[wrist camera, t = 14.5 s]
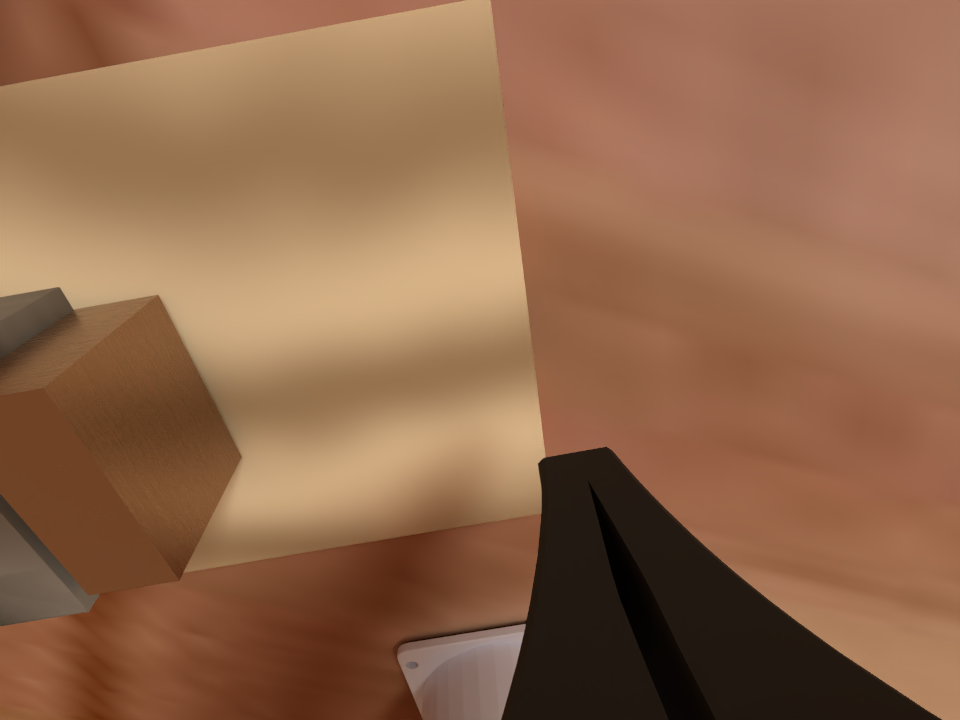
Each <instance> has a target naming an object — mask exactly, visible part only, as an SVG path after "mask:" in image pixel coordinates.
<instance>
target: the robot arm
mask: <svg viewBox="0 0 960 720" xmlns="http://www.w3.org/2000/svg"><path fill="white" fill-rule="evenodd" d="M538 469H539V476H540V482H541V489H542V510H541V526H540V538H539V549H538V557H537V564H536V570H535V577H534V583H533V589H532V595H531V601H530V606H529V611H528V616H527V621H526V624H521V625H515V626H508V627H502V628H496V629H490V630H484V631H477V632H471V633H465V634H459V635H453V636H446V637H440V638H434V639H428V640H422V641H415V642H409V643H405V644H403V645H401V646H400V647H399V648H398V652H397V660H398V662H399V664H400V667H401V669H402V671H403V674H404V676H405V679H406V681H407V683H408V686H409V688H410V690H411V693H412V695H413V697H414V700H415V702H416V705H417V707H418V709H419V712H420V714H421V716H422V720H942V719H940V718H938V717H937V716H935V715H933V714H932V713H930V712H929V711H927V710H925V709H924V708H922V707H921V706H919V705H918V704H916V703H915V702H913V701H912V700H910V699H909V698H907V697H906V696H904V695H903V694H901V693H900V692H898V691H897V690H895V689H894V688H892V687H891V686H889V685H888V684H886V683H885V682H883V681H882V680H880V679H879V678H877V677H876V676H874V675H873V674H871V673H870V672H868V671H867V670H865V669H864V668H862V667H861V666H859V665H858V664H856V663H855V662H853V661H852V660H850V659H849V658H847V657H846V656H844V655H843V654H841V653H840V652H838V651H837V650H835V649H834V648H833V647H831V646H830V645H828V644H827V643H826V642H824V641H823V640H822V639H820V638H819V637H817V636H816V635H815V634H813V633H812V632H811V631H809V630H808V629H807V628H805V627H804V626H802V625H801V624H800V623H798V622H797V621H796V620H794V619H793V618H792V617H790V616H789V615H788V614H786V613H785V612H784V611H782V610H781V609H780V608H779V607H777V606H776V605H775V604H773V603H772V602H771V601H769V600H768V599H767V598H766V597H764V596H763V595H762V594H761V593H759V592H758V591H757V590H756V589H754V588H753V587H752V586H751V585H749V584H748V583H747V582H746V581H745V580H743V579H742V578H741V577H740V576H739V575H737V574H736V573H735V572H734V571H733V570H731V569H730V568H729V567H728V566H727V565H726V564H725V563H723V562H722V561H721V560H720V559H719V558H718V557H717V556H715V555H714V554H713V553H712V552H711V551H710V550H708V549H707V548H706V547H705V546H704V545H703V544H702V543H701V542H700V541H699V540H698V539H696V538H695V537H694V536H693V535H692V534H691V533H690V532H689V531H688V530H687V529H686V528H685V527H684V526H683V525H682V524H681V523H680V522H679V521H678V520H677V519H675V518H674V517H673V516H672V515H671V514H670V513H669V512H668V511H667V510H666V509H665V508H664V507H663V506H662V505H661V504H660V503H659V502H658V501H657V500H656V499H655V498H654V497H653V496H652V495H651V494H650V492H649V491H648V490H647V489H646V488H645V487H644V486H643V485H642V484H641V483H640V482H639V481H638V480H637V479H636V477H635V476H634V475H633V474H632V473H631V472H630V471H629V470H628V469H627V467H626V466H625V465H624V464H623V463H622V462H621V460H620V459H619V458H618V457H617V456H616V454H615V453H614V452H613V451H612V450H611V449H609V448H608V447H603V448H597V449H592V450H586V451H580V452H575V453H569V454H563V455H558V456H552V457H546V458H543V459H542V460H541V461H540V462H539V463H538Z"/></svg>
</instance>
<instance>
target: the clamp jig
mask: <svg viewBox="0 0 960 720" xmlns="http://www.w3.org/2000/svg"><path fill="white" fill-rule="evenodd" d="M154 295H159V297H160V299H161V301H162V303H163V305H164V307H165V309H166V311H167V312H168V314H169V316H170V318H171V320H172V322H173V324H174V326H175V328H176V330H177V332H178V334H179V336H180V338H181V340H182V342H183V344H184V346H185V347H186V349H187V351H188V353H189V355H190V357H191V359H192V361H193V363H194V365H195V367H196V369H197V371H198V373H199V375H200V377H201V379H202V381H203V382H204V384H205V386H206V388H207V390H208V392H209V394H210V396H211V398H212V400H213V402H214V404H215V406H216V408H217V410H218V412H219V414H220V416H221V418H222V419H223V421H224V423H225V425H226V427H227V429H228V431H229V433H230V435H231V437H232V439H233V441H234V443H235V445H236V447H237V449H238V451H239V453H240V454H241V456H242V458H241V460H240V462H239V464H238V466H237V468H236V470H235V472H234V474H233V476H232V477H231V479H230V481H229V483H228V485H227V487H226V489H225V491H224V493H223V495H222V497H221V499H220V501H219V503H218V505H217V507H216V509H215V511H214V513H213V515H212V517H211V519H210V521H209V523H208V525H207V527H206V529H205V531H204V533H203V535H202V537H201V539H200V541H199V543H198V545H197V547H196V549H195V551H194V553H193V555H192V557H191V559H190V561H189V562H188V564H187V566H186V568H185V570H184V572H183V573H185V572H191V571H197V570H203V569H209V568H215V567H221V566H227V565H233V564H239V563H245V562H251V561H257V560H264V559H270V558H276V557H282V556H288V555H294V554H300V553H306V552H312V551H318V550H324V549H330V548H336V547H342V546H348V545H354V544H360V543H366V542H372V541H378V540H385V539H391V538H397V537H403V536H409V535H415V534H421V533H427V532H433V531H439V530H445V529H451V528H457V527H463V526H469V525H475V524H481V523H487V522H493V521H499V520H505V519H512V518H518V517H524V516H530V515H536V514H541V510H542V489H541V482H540V476H539V469H538V463H539V462H540V461H541V460H542V459H543V458H545V449H544V441H543V433H542V424H541V416H540V408H539V399H538V391H537V383H536V374H535V366H534V358H533V349H532V341H531V333H530V325H529V316H528V308H527V300H526V291H525V283H524V275H523V266H522V258H521V250H520V241H519V233H518V225H517V216H516V208H515V200H514V192H513V183H512V175H511V167H510V158H509V150H508V142H507V133H506V125H505V117H504V108H503V100H502V92H501V83H500V75H499V67H498V59H497V50H496V42H495V34H494V25H493V17H492V9H491V0H466V1H461V2H456V3H450V4H445V5H439V6H434V7H428V8H423V9H418V10H412V11H407V12H401V13H396V14H391V15H385V16H380V17H374V18H369V19H363V20H358V21H353V22H347V23H342V24H336V25H331V26H325V27H320V28H315V29H309V30H304V31H298V32H293V33H288V34H282V35H277V36H271V37H266V38H260V39H255V40H250V41H244V42H239V43H233V44H228V45H222V46H217V47H212V48H206V49H201V50H195V51H190V52H185V53H179V54H174V55H168V56H163V57H157V58H152V59H147V60H141V61H136V62H130V63H125V64H119V65H114V66H109V67H103V68H98V69H92V70H87V71H82V72H76V73H71V74H65V75H60V76H54V77H49V78H44V79H38V80H33V81H27V82H22V83H16V84H11V85H6V86H0V359H1V358H3V357H4V356H6V355H7V354H9V353H10V352H12V351H13V350H15V349H16V348H18V347H19V346H21V345H22V344H24V343H25V342H27V341H28V340H30V339H31V338H33V337H34V336H36V335H37V334H39V333H40V332H42V331H43V330H45V329H46V328H48V327H49V326H51V325H52V324H54V323H55V322H57V321H58V320H60V319H61V318H63V317H64V316H66V315H67V314H69V313H70V312H72V311H73V310H75V309H80V308H85V307H91V306H97V305H102V304H108V303H114V302H120V301H125V300H131V299H137V298H142V297H148V296H154ZM99 595H100V594H95V595H88V594H87V593H86V592H85V591H84V590H83V588H82V587H81V586H80V585H79V584H78V583H77V582H76V580H75V579H74V578H73V577H72V576H71V575H70V573H69V572H68V571H67V570H66V569H65V568H64V567H63V565H62V564H61V563H60V562H59V561H58V560H57V559H56V557H55V556H54V555H53V554H52V553H51V552H50V550H49V549H48V548H47V547H46V546H45V545H44V544H43V542H42V541H41V540H40V539H39V538H38V537H37V536H36V534H35V533H34V532H33V531H32V530H31V529H30V527H29V526H28V525H27V524H26V523H25V522H24V521H23V519H22V518H21V517H20V516H19V515H18V514H17V512H16V511H15V510H14V509H13V508H12V507H11V506H10V504H9V503H8V502H7V501H6V500H5V499H4V498H3V496H2V495H1V494H0V626H4V625H11V624H17V623H23V622H29V621H35V620H41V619H47V618H53V617H59V616H65V615H71V614H77V613H83V612H89V610H90V609H91V607H92V606H93V604H94V603H95V601H96V599H97V598H98V596H99Z"/></svg>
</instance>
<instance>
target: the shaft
mask: <svg viewBox="0 0 960 720" xmlns="http://www.w3.org/2000/svg"><path fill="white" fill-rule="evenodd" d="M241 458H242V456H241V454H240V453H239V451H238V449H237V447H236V445H235V443H234V441H233V439H232V437H231V435H230V433H229V431H228V429H227V427H226V425H225V423H224V421H223V419H222V418H221V416H220V414H219V412H218V410H217V408H216V406H215V404H214V402H213V400H212V398H211V396H210V394H209V392H208V390H207V388H206V386H205V384H204V382H203V381H202V379H201V377H200V375H199V373H198V371H197V369H196V367H195V365H194V363H193V361H192V359H191V357H190V355H189V353H188V351H187V349H186V347H185V346H184V344H183V342H182V340H181V338H180V336H179V334H178V332H177V330H176V328H175V326H174V324H173V322H172V320H171V318H170V316H169V314H168V312H167V311H166V309H165V307H164V305H163V303H162V301H161V299H160V297H159V295H154V296H148V297H142V298H137V299H131V300H125V301H120V302H114V303H108V304H102V305H97V306H91V307H85V308H80V309H75V310H73V311H72V312H70V313H69V314H67V315H66V316H64V317H63V318H61V319H60V320H58V321H57V322H55V323H54V324H52V325H51V326H49V327H48V328H46V329H45V330H43V331H42V332H40V333H39V334H37V335H36V336H34V337H33V338H31V339H30V340H28V341H27V342H25V343H24V344H22V345H21V346H19V347H18V348H16V349H15V350H13V351H12V352H10V353H9V354H7V355H6V356H4V357H3V358H1V359H0V494H1V495H2V496H3V498H4V499H5V500H6V501H7V502H8V503H9V504H10V506H11V507H12V508H13V509H14V510H15V511H16V512H17V514H18V515H19V516H20V517H21V518H22V519H23V521H24V522H25V523H26V524H27V525H28V526H29V527H30V529H31V530H32V531H33V532H34V533H35V534H36V536H37V537H38V538H39V539H40V540H41V541H42V542H43V544H44V545H45V546H46V547H47V548H48V549H49V550H50V552H51V553H52V554H53V555H54V556H55V557H56V559H57V560H58V561H59V562H60V563H61V564H62V565H63V567H64V568H65V569H66V570H67V571H68V572H69V573H70V575H71V576H72V577H73V578H74V579H75V580H76V582H77V583H78V584H79V585H80V586H81V587H82V588H83V590H84V591H85V592H86V593H87V594H88V595H95V594H101V593H107V592H113V591H119V590H125V589H131V588H137V587H143V586H149V585H155V584H161V583H168V582H174V581H179V580H180V578H181V576H182V574H183V572H184V570H185V568H186V566H187V564H188V562H189V561H190V559H191V557H192V555H193V553H194V551H195V549H196V547H197V545H198V543H199V541H200V539H201V537H202V535H203V533H204V531H205V529H206V527H207V525H208V523H209V521H210V519H211V517H212V515H213V513H214V511H215V509H216V507H217V505H218V503H219V501H220V499H221V497H222V495H223V493H224V491H225V489H226V487H227V485H228V483H229V481H230V479H231V477H232V476H233V474H234V472H235V470H236V468H237V466H238V464H239V462H240V460H241Z"/></svg>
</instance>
